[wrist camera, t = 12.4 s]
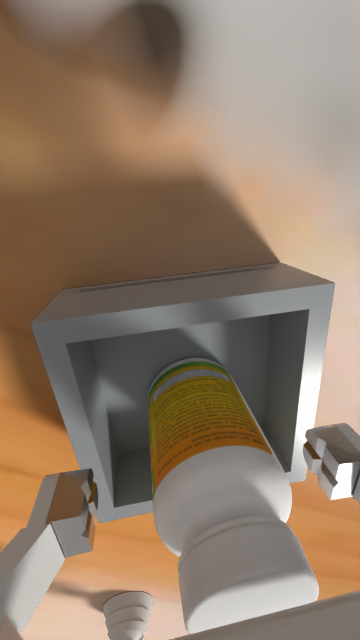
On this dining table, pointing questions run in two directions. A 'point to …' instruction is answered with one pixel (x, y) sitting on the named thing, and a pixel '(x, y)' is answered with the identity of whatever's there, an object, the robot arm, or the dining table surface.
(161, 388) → the supplement bottle
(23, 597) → the robot arm
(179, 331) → the tray
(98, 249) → the dining table surface
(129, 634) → the chalice
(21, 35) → the dining table surface
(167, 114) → the dining table surface
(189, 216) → the dining table surface
